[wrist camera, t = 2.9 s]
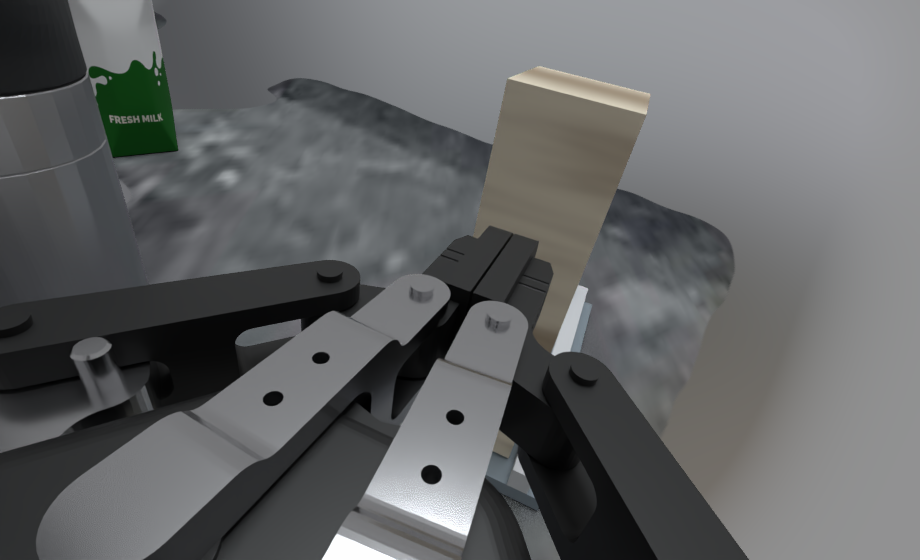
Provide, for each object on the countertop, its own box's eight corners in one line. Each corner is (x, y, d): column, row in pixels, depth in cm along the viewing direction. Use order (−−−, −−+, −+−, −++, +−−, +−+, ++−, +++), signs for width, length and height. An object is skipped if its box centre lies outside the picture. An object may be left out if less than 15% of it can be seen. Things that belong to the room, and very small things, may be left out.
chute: (537, 510, 25) (557, 471, 23) (383, 436, 27) (388, 393, 25) (588, 312, 42) (603, 278, 39) (490, 276, 44) (499, 242, 42)
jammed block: (508, 458, 26) (646, 114, 15) (432, 423, 27) (507, 78, 16) (529, 399, 30) (650, 93, 19) (462, 371, 31) (539, 66, 20)
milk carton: (164, 129, 60) (125, -52, 48) (189, 152, 55) (153, -42, 44) (83, 135, 54) (18, -69, 43) (104, 162, 49) (37, -59, 38)
